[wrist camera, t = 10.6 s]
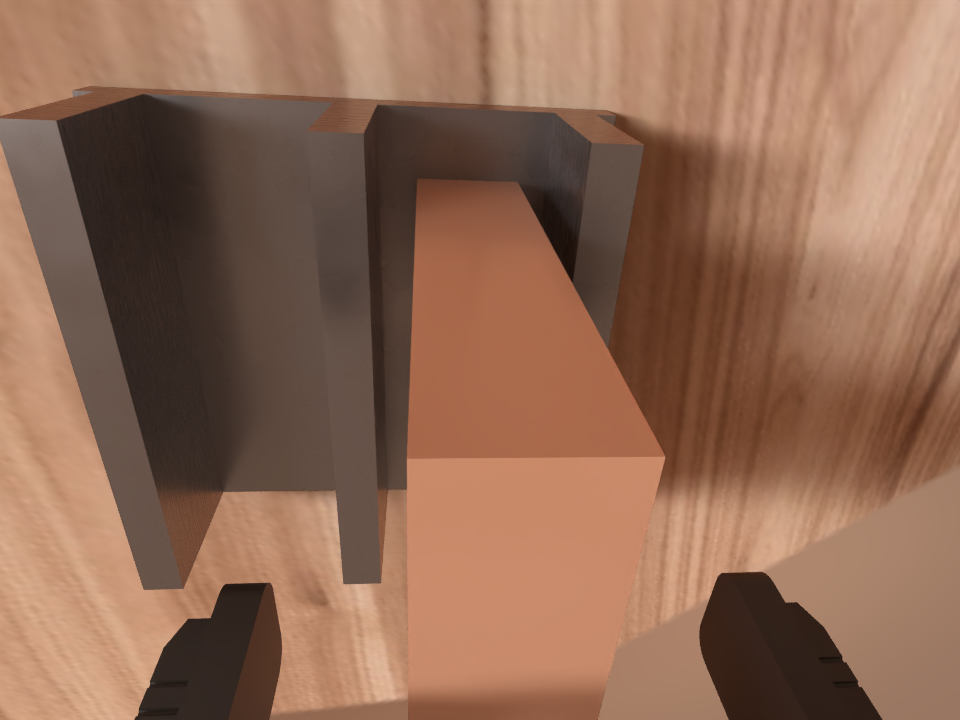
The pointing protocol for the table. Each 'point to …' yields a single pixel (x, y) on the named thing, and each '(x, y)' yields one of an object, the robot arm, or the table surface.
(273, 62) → the table surface
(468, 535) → the tall salmon slab
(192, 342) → the dish rack
